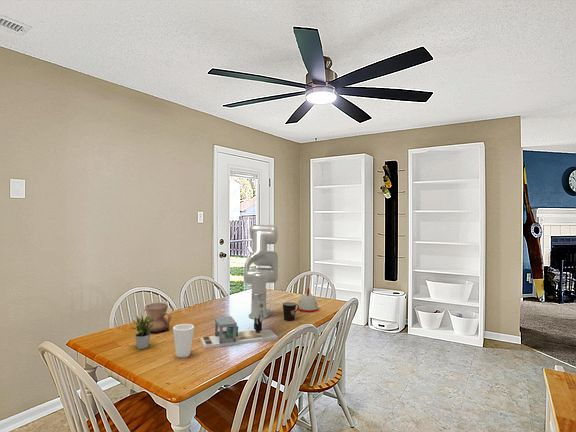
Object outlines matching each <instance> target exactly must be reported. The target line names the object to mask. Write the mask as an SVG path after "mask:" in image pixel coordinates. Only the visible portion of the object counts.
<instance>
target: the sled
mask: <svg viewBox="0 0 576 432" xmlns="http://www.w3.org/2000/svg"><path fill="white" fill-rule="evenodd" d="M258 320H260V319H258ZM256 324H257V319H256ZM225 331H226V333H225V334H222V338H223V339H224V338H232V337H233V327H226V330H225ZM262 336H264V334H263V333H262V332H261V331H257V332H256V330H255V329H252V330H246V331H239V325H237V326H236V340H237V339H246V338H254V337H262Z"/></svg>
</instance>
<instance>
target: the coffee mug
mask: <svg viewBox="0 0 576 432" xmlns="http://www.w3.org/2000/svg"><path fill="white" fill-rule="evenodd" d="M298 308H299V305H298V304H297V303H296V302H291V301H286V302H283V303H282V310H283V320H284V321H286V322H293V321H294V320H295V318H296V317H295V315H296V312H298V311H299V310H298Z"/></svg>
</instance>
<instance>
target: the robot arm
mask: <svg viewBox="0 0 576 432" xmlns="http://www.w3.org/2000/svg"><path fill="white" fill-rule="evenodd" d="M249 236H250V237H251V240H252V253H251V254H250V256H249V257H248V258H247V259H246V261H245V263H244V266H243V282H244V283H245V284H247V285H251V301H250V302H251V306H250V307H251V311H250V313H249V314H248V318H250V319H252V320H253V330H256V332H257V331H262V330H263V329H262V328H263V321H264V319H268V318H269V314H273V313H274V310H273V309H267V284H274V283H276V282H277V281H278V278H279V276H278V275H279V257H278V256H279V255H278V253H277V252H276V251H272V250H268V245H276V244H277V242H278V238H279V237H278V236H279V234H278V228H277V226H276V225H274V224H253V225H250V227H249ZM253 264H254V265H255V266H256V267H254V268H252V269H250V266H251V265H253ZM257 266H259V267H257ZM260 266H261V267H260ZM256 319H257V324H256ZM258 319H260V320H258Z"/></svg>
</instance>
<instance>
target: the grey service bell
mask: <svg viewBox="0 0 576 432" xmlns="http://www.w3.org/2000/svg"><path fill="white" fill-rule="evenodd" d="M298 305H299V308H298V307H297V308H298V310H297V311H298V312H301V313H306V314H307V313H316V312H318V311H319V310H318V309H319V308H318V305H319V304H318V300H317V299H316V298H315V295H313V294H312V293H310V287H308V288H307V291H306V293H304V294H303V295H302V296H301V298H299V300H298Z"/></svg>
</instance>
